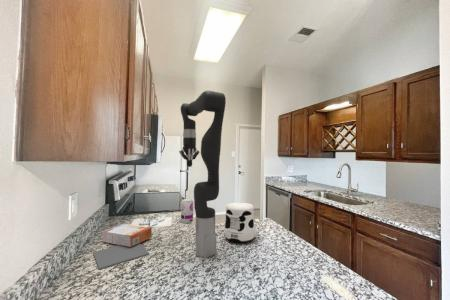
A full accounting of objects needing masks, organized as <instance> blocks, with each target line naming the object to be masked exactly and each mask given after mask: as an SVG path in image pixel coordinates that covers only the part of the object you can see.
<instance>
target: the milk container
mask: <svg viewBox="0 0 450 300" xmlns="http://www.w3.org/2000/svg"><path fill="white" fill-rule="evenodd" d="M254 209H255V208H254V204H252V203H249V202H241V201H240V202H239V201H238V202H235V201H234V202H230V203H227V204H226V205H225V221H224V222H225V223H224V227H223V232H224V233H223V234H224V236H225V238H226V239H227V240H229V241H232V242H234V243H235V242H236V243H247V242H250V241H252V240H253V239H255V236H256V230H257V229H256V225H255V212H254V211H255V210H254Z"/></svg>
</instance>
